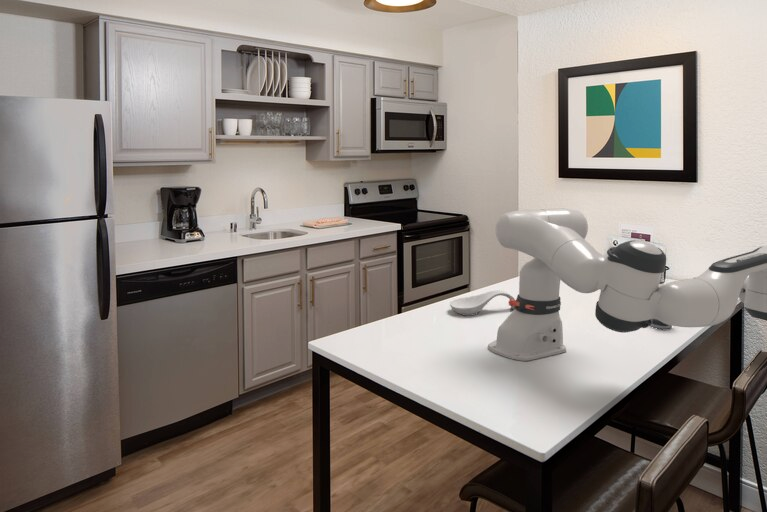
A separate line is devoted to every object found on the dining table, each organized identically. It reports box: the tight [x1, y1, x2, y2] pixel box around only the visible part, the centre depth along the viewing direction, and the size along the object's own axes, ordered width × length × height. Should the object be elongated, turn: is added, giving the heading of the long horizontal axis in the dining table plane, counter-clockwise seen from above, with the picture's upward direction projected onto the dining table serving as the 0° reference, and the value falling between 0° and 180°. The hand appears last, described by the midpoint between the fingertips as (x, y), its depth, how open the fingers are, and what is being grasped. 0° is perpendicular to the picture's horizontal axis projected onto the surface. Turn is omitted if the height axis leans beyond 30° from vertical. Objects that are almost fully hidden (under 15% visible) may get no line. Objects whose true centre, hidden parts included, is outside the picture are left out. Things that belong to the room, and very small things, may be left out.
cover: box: [649, 319, 673, 330], centre depth 172 cm, size 6×6×11 cm
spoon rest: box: [449, 289, 516, 316], centre depth 191 cm, size 24×12×7 cm, turn 99°
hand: (704, 278), depth 159 cm, fingers open, 8 cm apart
